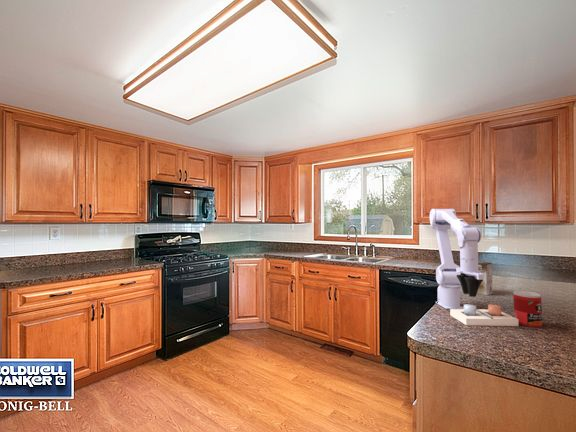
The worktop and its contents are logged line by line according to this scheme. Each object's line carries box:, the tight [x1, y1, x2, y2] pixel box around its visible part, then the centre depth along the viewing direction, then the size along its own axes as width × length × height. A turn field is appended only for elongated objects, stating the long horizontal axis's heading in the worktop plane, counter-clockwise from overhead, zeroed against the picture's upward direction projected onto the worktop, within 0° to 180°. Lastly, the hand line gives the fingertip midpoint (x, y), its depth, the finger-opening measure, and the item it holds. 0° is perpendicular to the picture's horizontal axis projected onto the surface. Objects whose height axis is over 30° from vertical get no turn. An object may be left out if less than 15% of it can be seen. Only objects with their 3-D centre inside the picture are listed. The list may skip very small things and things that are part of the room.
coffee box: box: [477, 260, 493, 296], centre depth 146 cm, size 9×6×16 cm
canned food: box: [512, 290, 543, 328], centre depth 102 cm, size 8×8×11 cm
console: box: [449, 308, 520, 327], centre depth 106 cm, size 11×18×3 cm, turn 87°
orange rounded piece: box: [487, 303, 502, 316], centre depth 105 cm, size 4×4×4 cm
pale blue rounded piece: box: [463, 303, 477, 316], centre depth 106 cm, size 4×4×4 cm
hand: (469, 295), depth 106 cm, fingers open, 3 cm apart
